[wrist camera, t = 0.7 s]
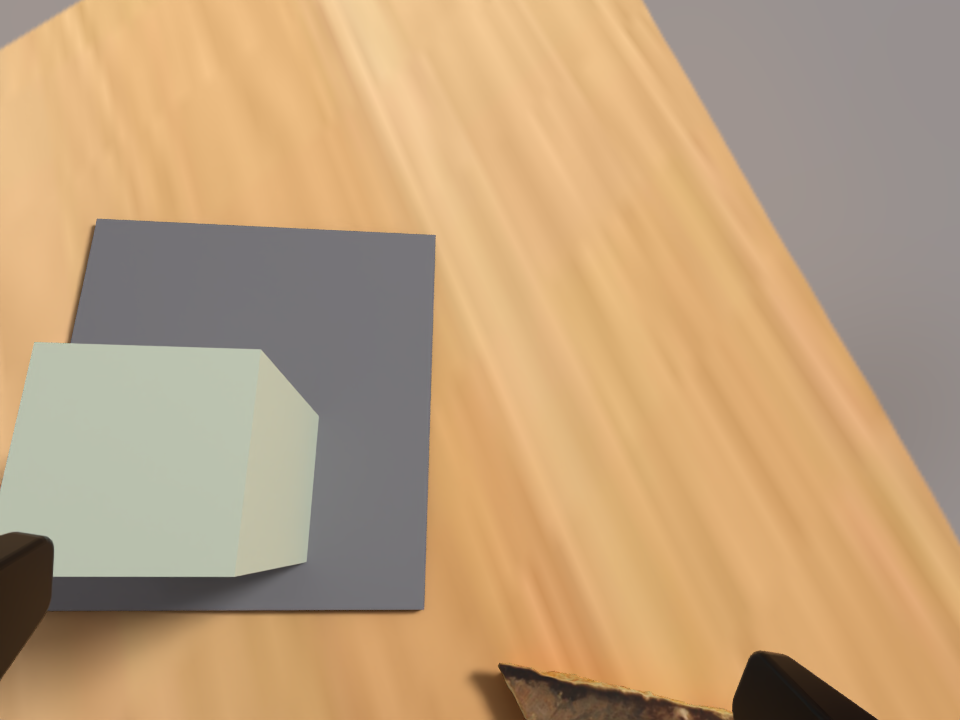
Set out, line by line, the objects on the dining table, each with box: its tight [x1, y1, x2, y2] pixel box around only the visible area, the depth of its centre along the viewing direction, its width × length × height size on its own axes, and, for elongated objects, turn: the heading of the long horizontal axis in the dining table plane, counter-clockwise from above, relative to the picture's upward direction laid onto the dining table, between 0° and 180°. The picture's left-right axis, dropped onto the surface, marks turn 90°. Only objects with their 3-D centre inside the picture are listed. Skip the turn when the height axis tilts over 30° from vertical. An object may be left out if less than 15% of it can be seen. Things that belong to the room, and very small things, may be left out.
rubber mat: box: [47, 219, 436, 611], centre depth 22 cm, size 14×13×1 cm
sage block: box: [0, 342, 319, 577], centre depth 17 cm, size 5×5×8 cm
